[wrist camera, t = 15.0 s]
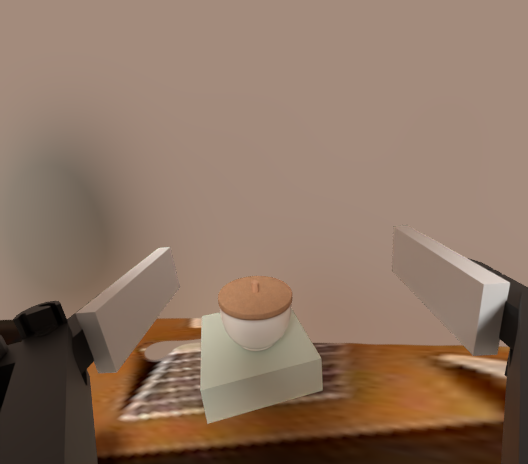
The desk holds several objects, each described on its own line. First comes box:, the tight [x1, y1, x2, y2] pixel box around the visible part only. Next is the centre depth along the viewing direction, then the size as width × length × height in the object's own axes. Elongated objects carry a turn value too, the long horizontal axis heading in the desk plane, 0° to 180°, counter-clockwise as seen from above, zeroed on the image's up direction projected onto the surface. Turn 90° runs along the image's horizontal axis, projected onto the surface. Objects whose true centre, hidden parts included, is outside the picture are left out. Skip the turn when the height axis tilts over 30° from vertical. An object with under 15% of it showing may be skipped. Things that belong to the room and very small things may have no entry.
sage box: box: [200, 308, 323, 424], centre depth 41 cm, size 16×16×6 cm
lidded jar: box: [218, 276, 292, 351], centre depth 38 cm, size 11×11×9 cm
